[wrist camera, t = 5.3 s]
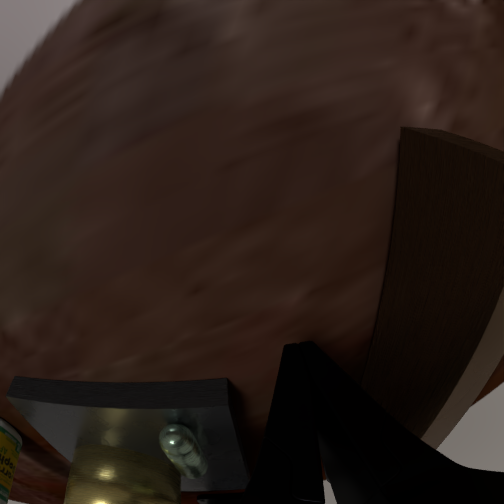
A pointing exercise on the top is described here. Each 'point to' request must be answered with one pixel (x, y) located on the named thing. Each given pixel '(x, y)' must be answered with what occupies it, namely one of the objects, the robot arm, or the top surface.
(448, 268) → the brown bar with knob
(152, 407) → the plate
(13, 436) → the supplement bottle
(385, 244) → the top surface
